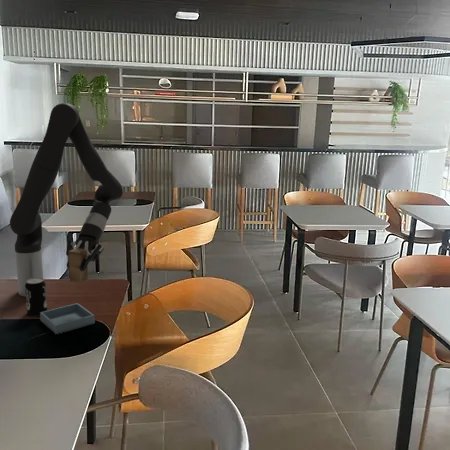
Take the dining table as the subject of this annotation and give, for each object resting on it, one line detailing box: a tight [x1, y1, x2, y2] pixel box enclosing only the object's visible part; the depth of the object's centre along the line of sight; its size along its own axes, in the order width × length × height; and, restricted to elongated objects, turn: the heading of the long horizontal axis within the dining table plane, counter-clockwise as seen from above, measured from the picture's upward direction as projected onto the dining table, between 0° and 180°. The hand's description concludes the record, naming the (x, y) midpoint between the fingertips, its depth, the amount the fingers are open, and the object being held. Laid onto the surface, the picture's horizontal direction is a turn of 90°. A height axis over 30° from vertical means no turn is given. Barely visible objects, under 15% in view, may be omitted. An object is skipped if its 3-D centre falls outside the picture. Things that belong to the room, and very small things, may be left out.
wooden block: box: [68, 248, 89, 284], centre depth 163 cm, size 4×4×11 cm
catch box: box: [39, 302, 96, 335], centre depth 156 cm, size 13×13×3 cm
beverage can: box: [25, 277, 48, 317], centre depth 162 cm, size 7×7×12 cm
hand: (75, 269), depth 161 cm, fingers closed on wooden block, 4 cm apart
